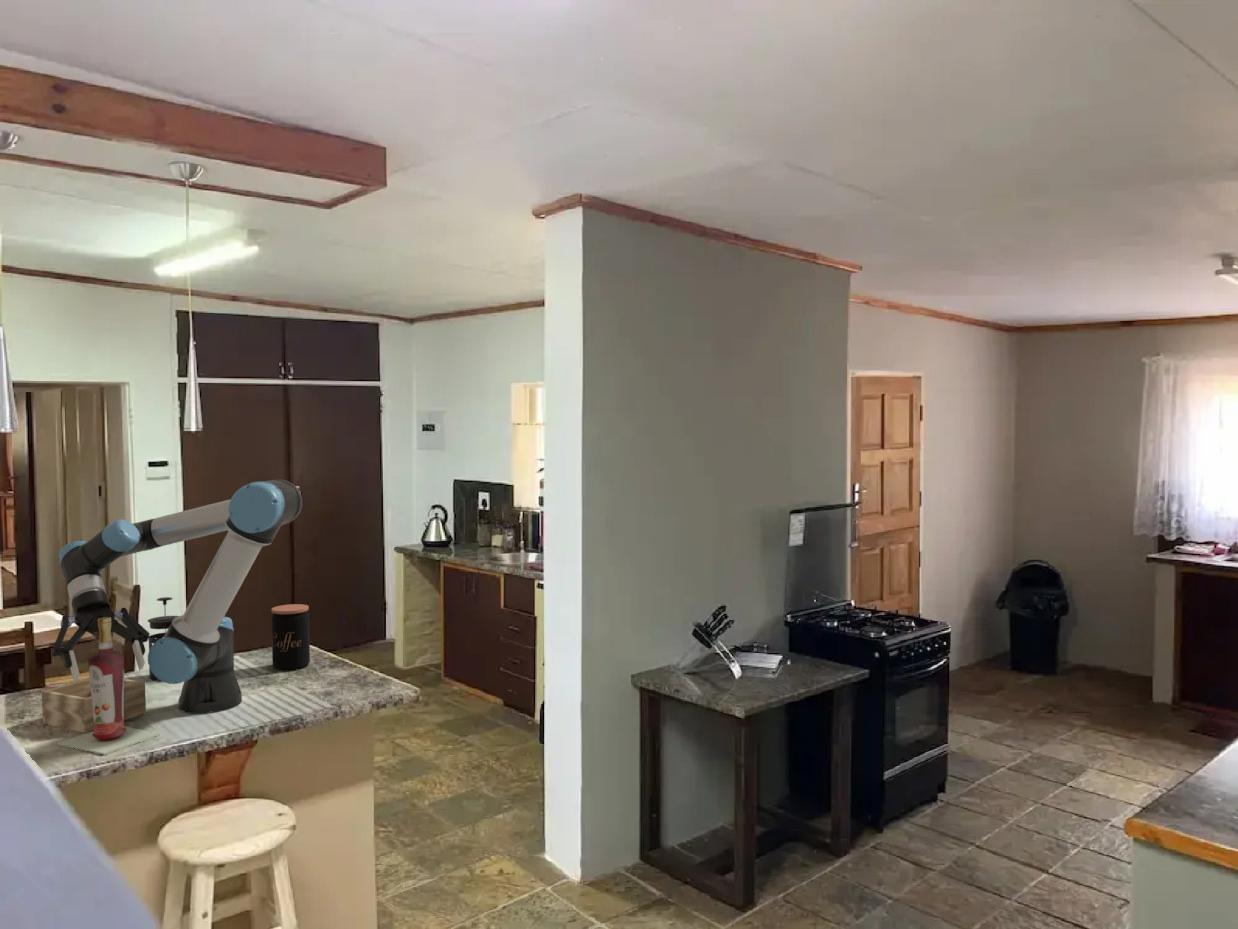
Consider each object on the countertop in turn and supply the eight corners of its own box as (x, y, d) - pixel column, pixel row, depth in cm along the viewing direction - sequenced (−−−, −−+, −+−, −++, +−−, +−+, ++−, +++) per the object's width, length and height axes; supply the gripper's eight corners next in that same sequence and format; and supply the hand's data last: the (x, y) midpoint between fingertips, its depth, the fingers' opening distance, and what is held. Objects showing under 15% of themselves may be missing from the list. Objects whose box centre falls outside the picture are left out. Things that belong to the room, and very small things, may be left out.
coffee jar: (265, 670, 271) (264, 610, 270) (284, 661, 281) (283, 603, 280) (298, 672, 269) (297, 611, 268) (316, 662, 279) (315, 604, 279)
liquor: (134, 734, 214) (130, 615, 212) (108, 745, 207) (103, 622, 205) (110, 731, 216) (105, 614, 214) (83, 741, 209) (78, 621, 207)
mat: (159, 735, 214) (159, 733, 214) (104, 755, 201) (103, 753, 201) (114, 726, 221) (114, 724, 221) (57, 744, 208) (57, 742, 208)
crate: (145, 713, 231) (145, 682, 230) (85, 732, 216) (84, 699, 216) (104, 705, 238) (103, 675, 237) (42, 723, 223) (41, 691, 223)
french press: (142, 676, 265) (139, 598, 264) (175, 669, 272) (173, 593, 271) (159, 683, 258) (157, 603, 256) (192, 676, 265) (190, 598, 264)
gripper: (141, 600, 230) (164, 670, 220) (26, 615, 212) (44, 692, 202) (148, 582, 226) (171, 652, 216) (30, 595, 208) (50, 673, 198)
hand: (110, 672), depth 209 cm, fingers open, 13 cm apart
